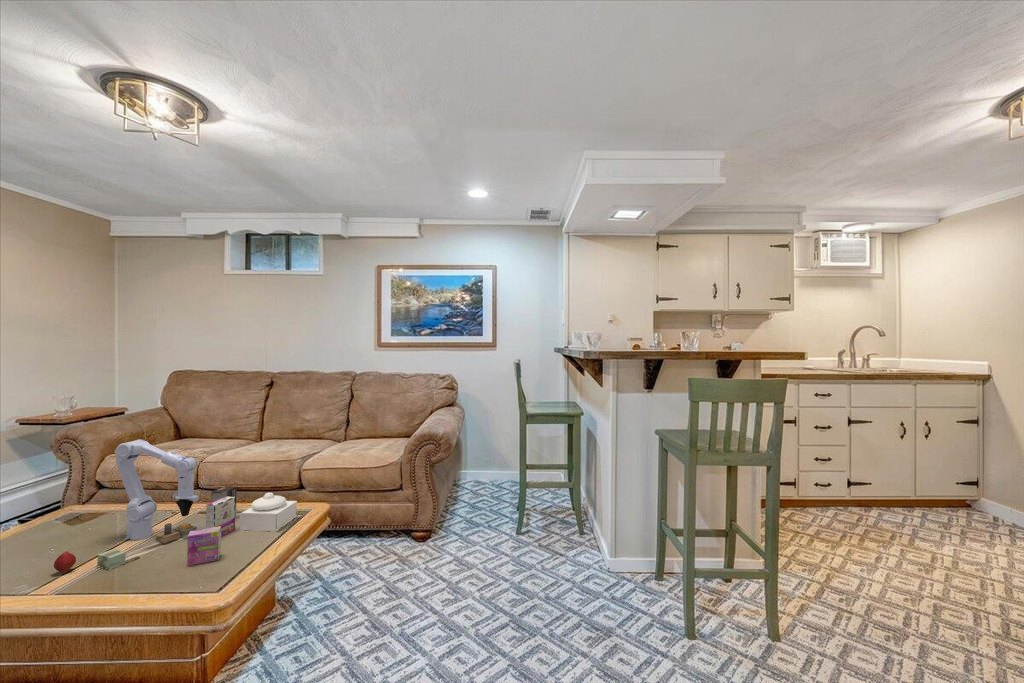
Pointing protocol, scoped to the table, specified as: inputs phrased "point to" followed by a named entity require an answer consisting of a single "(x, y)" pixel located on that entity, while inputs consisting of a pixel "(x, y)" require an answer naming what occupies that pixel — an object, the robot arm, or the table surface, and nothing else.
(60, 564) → the onion
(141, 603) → the table surface
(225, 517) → the candy bar box
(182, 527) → the button
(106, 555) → the rail stand
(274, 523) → the butter dish
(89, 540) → the table surface
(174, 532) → the carriage
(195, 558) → the box
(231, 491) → the coffee box
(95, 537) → the table surface
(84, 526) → the table surface
